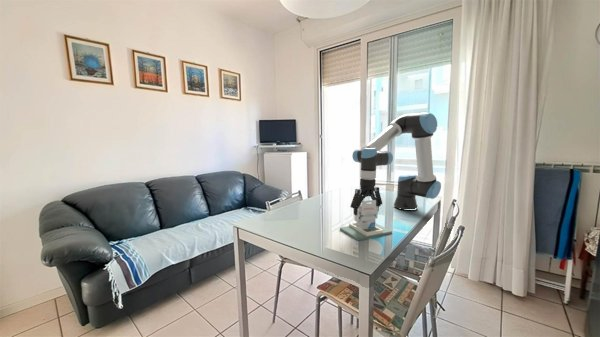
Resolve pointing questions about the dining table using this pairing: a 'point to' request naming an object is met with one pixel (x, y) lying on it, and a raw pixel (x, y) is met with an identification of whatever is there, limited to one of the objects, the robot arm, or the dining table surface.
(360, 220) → the ink box
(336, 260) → the dining table surface
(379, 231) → the board
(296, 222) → the dining table surface
